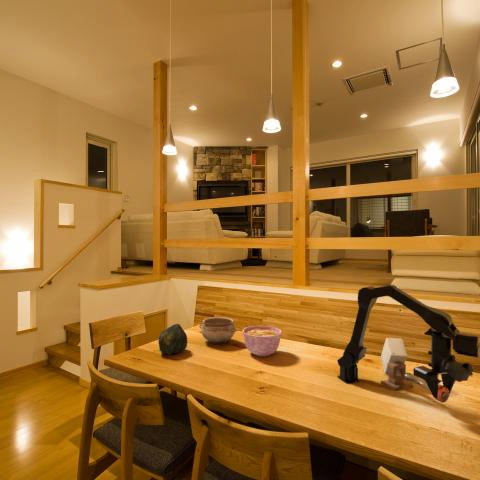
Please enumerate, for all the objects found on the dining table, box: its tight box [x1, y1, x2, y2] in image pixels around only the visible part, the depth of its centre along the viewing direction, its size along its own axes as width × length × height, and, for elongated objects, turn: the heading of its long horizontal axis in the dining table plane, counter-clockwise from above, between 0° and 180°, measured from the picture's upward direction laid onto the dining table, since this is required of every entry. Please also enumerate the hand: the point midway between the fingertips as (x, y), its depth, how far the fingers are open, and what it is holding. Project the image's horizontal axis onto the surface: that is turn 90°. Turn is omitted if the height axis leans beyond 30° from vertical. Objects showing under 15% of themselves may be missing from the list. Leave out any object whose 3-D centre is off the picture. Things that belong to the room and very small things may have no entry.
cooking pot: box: [198, 316, 239, 345], centre depth 172 cm, size 25×19×12 cm
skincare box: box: [380, 337, 408, 375], centre depth 128 cm, size 8×7×16 cm
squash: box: [157, 323, 188, 355], centre depth 156 cm, size 14×15×15 cm
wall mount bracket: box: [380, 361, 414, 391], centre depth 120 cm, size 10×6×8 cm, turn 108°
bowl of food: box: [242, 325, 282, 357], centre depth 154 cm, size 20×20×12 cm
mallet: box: [404, 373, 450, 403], centre depth 109 cm, size 5×16×5 cm, turn 18°
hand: (441, 396), depth 102 cm, fingers closed on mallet, 5 cm apart
